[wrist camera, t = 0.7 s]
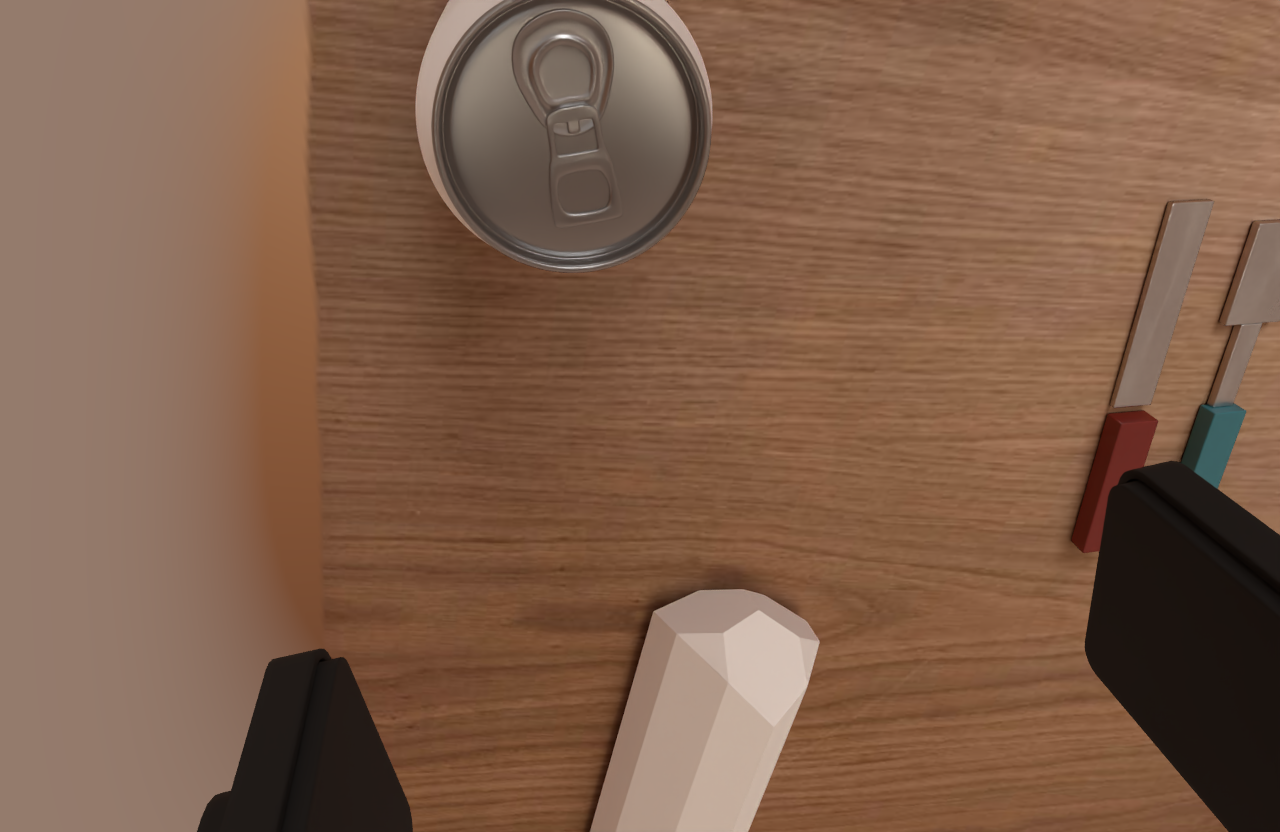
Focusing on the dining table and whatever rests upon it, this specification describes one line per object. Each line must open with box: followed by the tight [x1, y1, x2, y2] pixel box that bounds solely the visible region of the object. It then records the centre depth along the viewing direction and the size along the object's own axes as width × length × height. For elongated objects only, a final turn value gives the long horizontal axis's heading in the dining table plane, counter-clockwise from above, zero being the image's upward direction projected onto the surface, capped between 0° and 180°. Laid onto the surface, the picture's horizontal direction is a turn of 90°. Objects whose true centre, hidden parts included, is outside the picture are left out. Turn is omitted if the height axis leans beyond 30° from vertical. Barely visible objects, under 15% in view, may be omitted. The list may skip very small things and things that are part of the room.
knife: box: [1071, 199, 1214, 553], centre depth 37 cm, size 16×2×1 cm, turn 0°
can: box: [415, 0, 712, 273], centre depth 23 cm, size 6×6×12 cm
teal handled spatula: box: [1181, 220, 1280, 489], centre depth 38 cm, size 15×3×1 cm, turn 0°
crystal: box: [590, 589, 820, 832], centre depth 42 cm, size 7×7×24 cm
